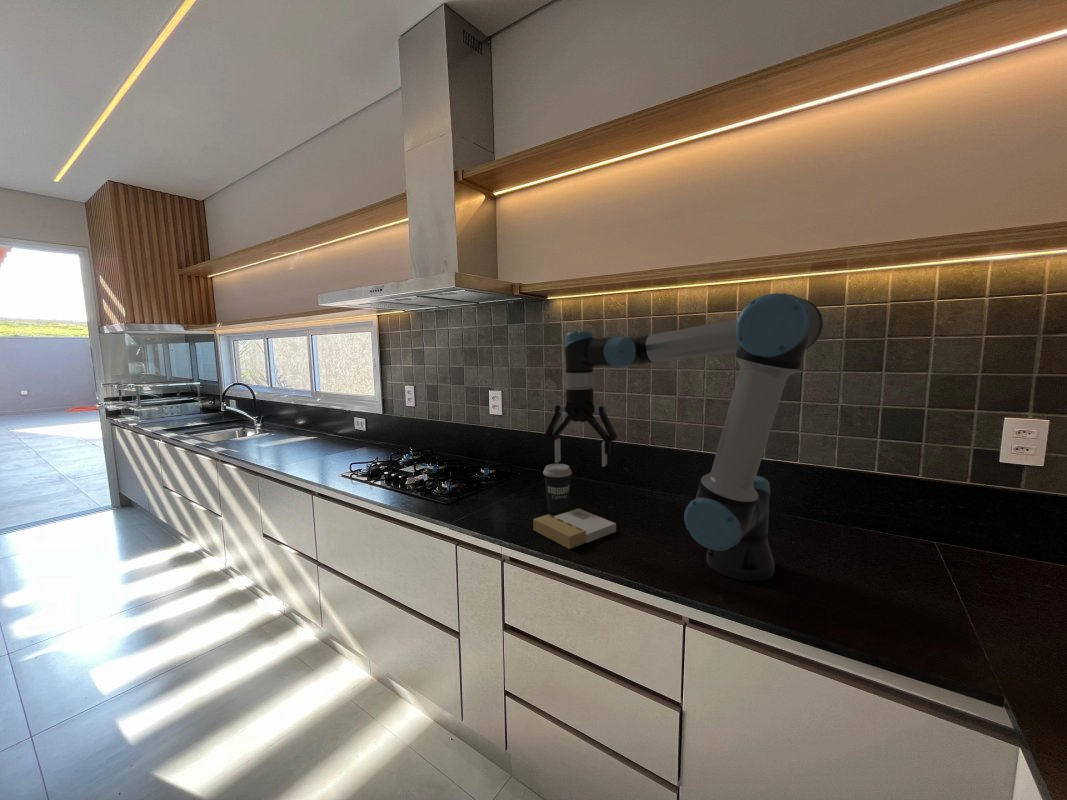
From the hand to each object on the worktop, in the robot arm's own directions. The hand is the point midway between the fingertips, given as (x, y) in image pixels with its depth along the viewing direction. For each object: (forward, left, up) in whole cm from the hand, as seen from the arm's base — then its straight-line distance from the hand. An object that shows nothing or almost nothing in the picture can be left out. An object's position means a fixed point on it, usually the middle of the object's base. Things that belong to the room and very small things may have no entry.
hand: (580, 463), depth 122 cm
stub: (+5, +5, -22) cm, 23 cm away
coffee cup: (+21, -9, -22) cm, 31 cm away
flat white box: (+5, -5, -22) cm, 23 cm away
